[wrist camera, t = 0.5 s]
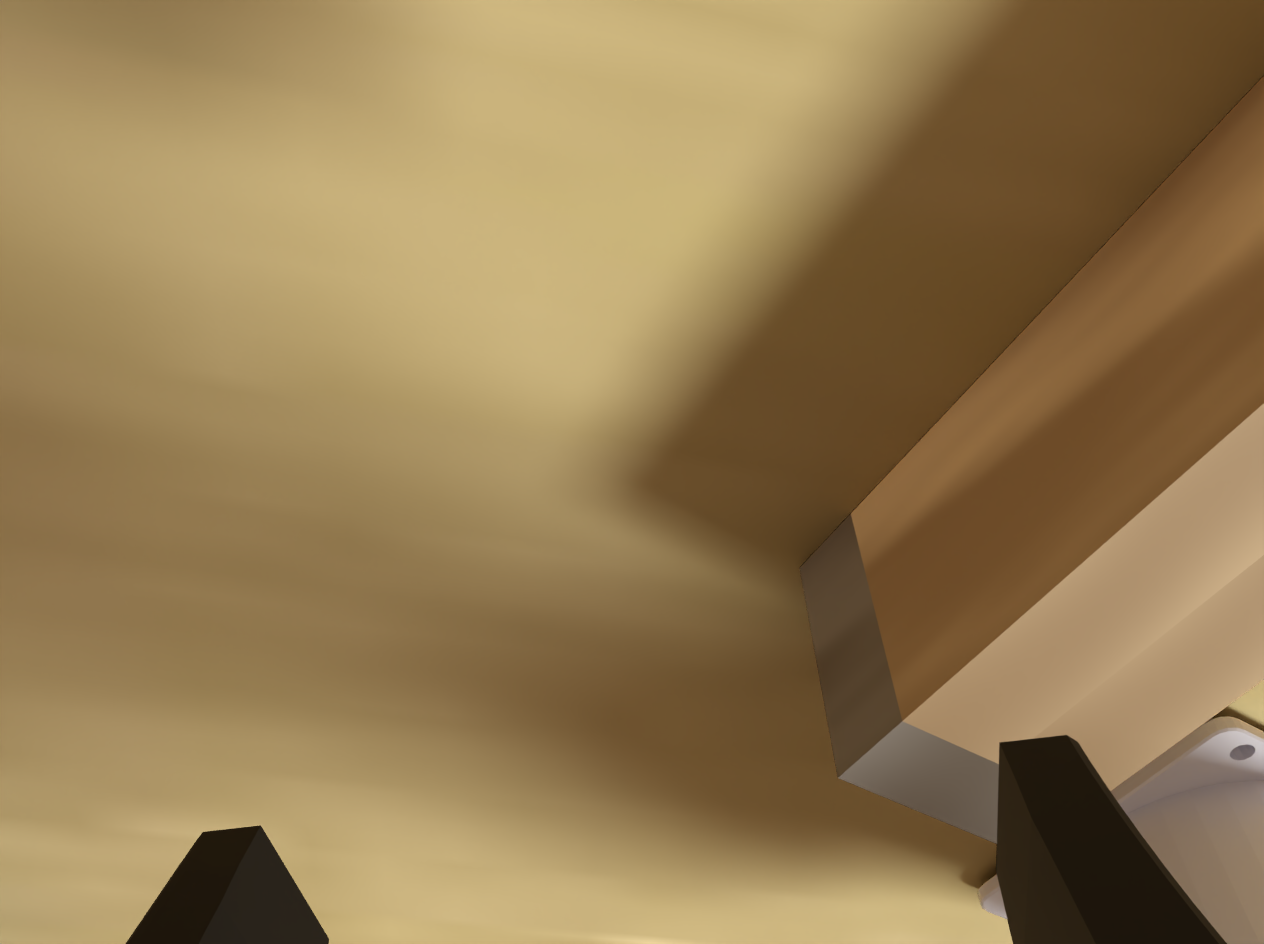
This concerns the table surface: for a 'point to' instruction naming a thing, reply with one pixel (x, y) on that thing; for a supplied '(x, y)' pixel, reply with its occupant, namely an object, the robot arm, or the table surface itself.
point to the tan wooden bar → (1071, 520)
